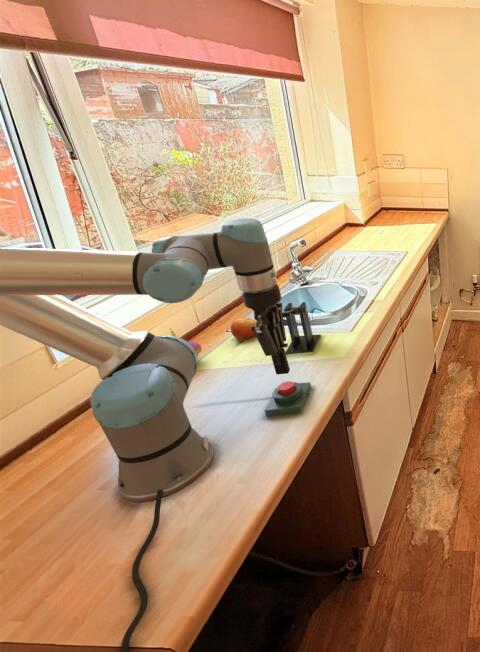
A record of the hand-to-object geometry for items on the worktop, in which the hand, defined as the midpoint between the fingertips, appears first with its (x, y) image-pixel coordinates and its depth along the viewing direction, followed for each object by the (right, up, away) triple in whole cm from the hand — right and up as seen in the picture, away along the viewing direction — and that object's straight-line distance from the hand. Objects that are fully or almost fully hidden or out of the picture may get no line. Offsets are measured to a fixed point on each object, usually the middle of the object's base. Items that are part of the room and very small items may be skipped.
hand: (283, 372), depth 101 cm
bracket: (-9, +2, +28) cm, 30 cm away
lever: (-8, +13, +17) cm, 23 cm away
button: (0, -5, +2) cm, 6 cm away
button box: (0, -9, +4) cm, 10 cm away
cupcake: (-39, -2, +18) cm, 43 cm away
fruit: (-31, +5, +33) cm, 45 cm away
